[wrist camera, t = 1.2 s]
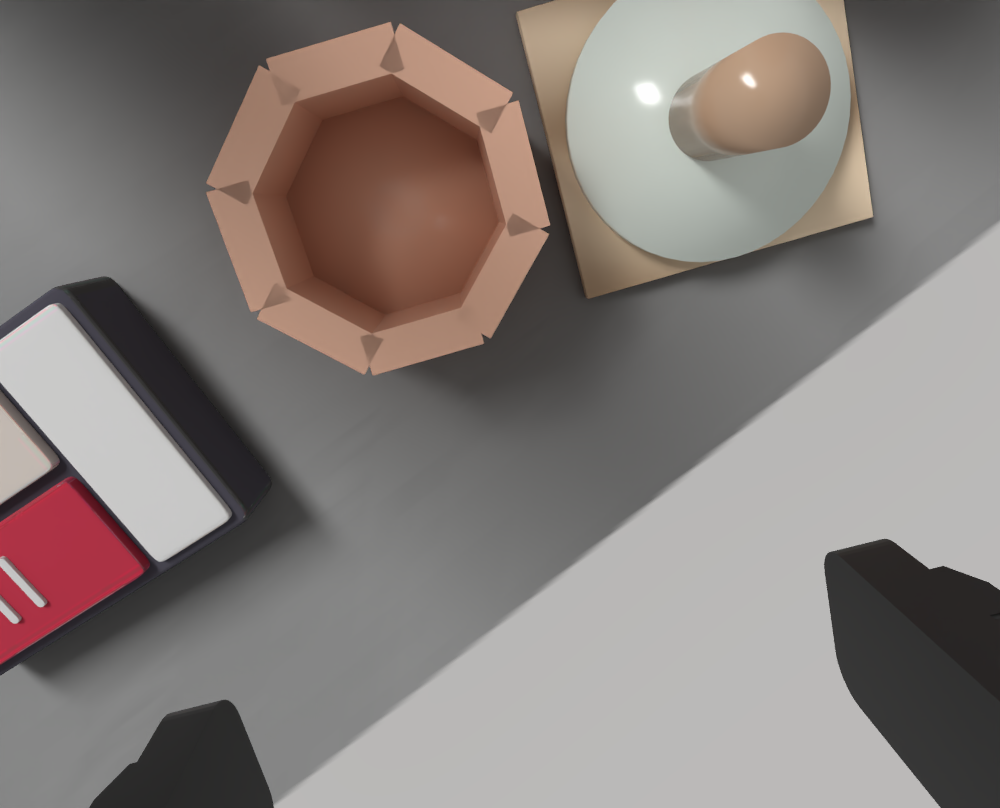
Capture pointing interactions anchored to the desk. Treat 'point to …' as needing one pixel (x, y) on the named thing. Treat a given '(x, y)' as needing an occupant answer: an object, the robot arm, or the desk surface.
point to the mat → (599, 250)
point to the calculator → (102, 463)
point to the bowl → (378, 199)
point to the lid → (707, 121)
